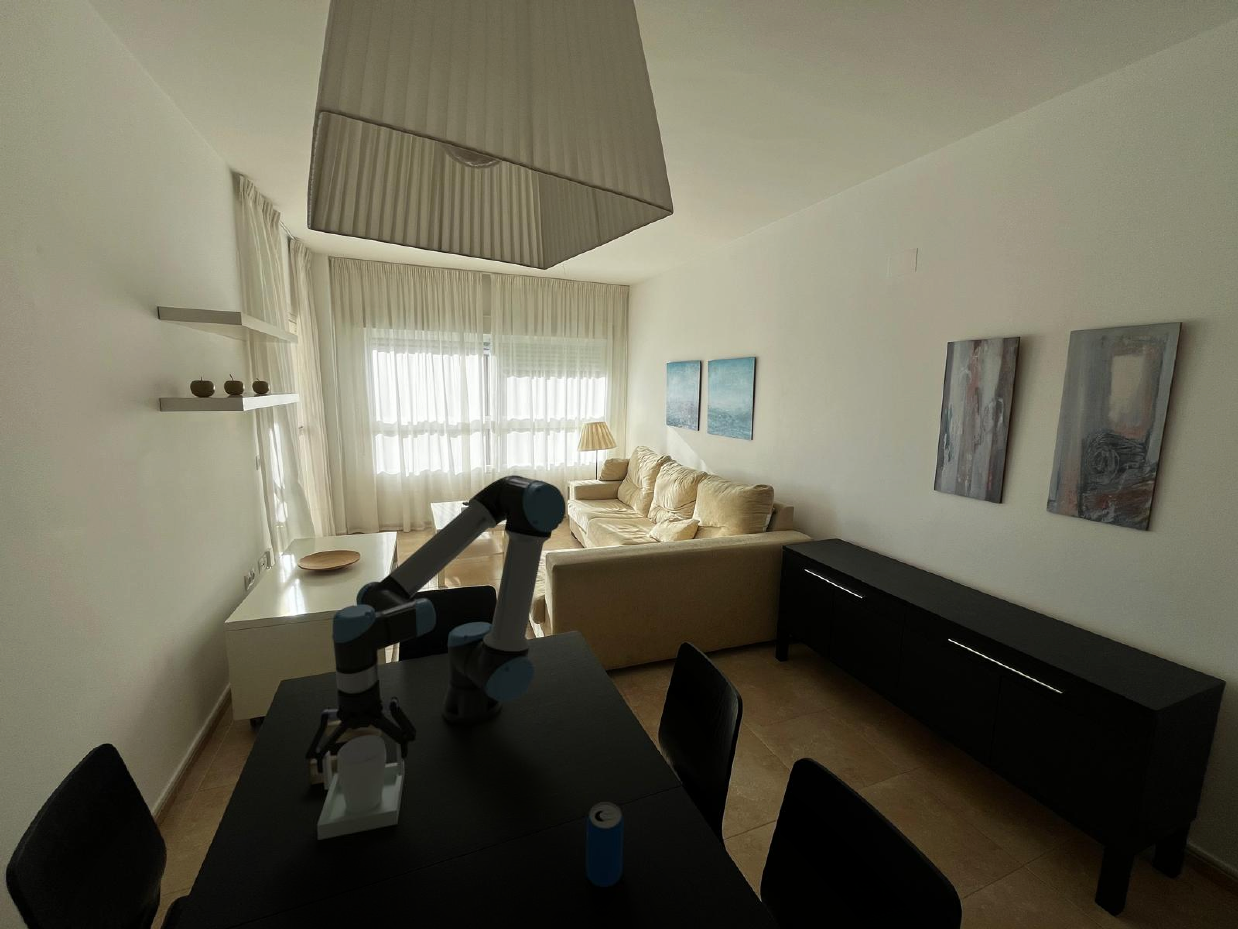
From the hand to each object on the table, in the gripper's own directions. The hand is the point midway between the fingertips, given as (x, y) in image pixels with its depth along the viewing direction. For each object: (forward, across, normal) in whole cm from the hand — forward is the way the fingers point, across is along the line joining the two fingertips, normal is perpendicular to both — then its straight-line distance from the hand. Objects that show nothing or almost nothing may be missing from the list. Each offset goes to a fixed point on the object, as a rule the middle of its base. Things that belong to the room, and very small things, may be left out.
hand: (365, 777), depth 107 cm
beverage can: (+6, -44, +28) cm, 52 cm away
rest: (+6, +6, -16) cm, 18 cm away
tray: (+6, 0, 0) cm, 6 cm away
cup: (+5, 0, 0) cm, 6 cm away
